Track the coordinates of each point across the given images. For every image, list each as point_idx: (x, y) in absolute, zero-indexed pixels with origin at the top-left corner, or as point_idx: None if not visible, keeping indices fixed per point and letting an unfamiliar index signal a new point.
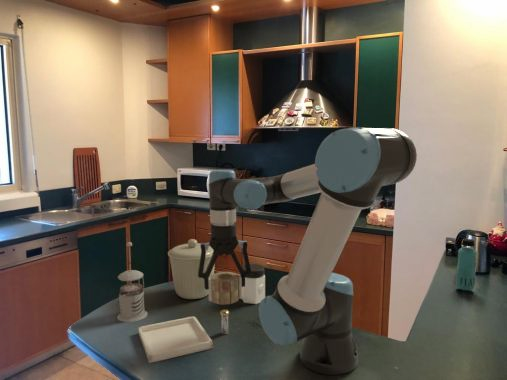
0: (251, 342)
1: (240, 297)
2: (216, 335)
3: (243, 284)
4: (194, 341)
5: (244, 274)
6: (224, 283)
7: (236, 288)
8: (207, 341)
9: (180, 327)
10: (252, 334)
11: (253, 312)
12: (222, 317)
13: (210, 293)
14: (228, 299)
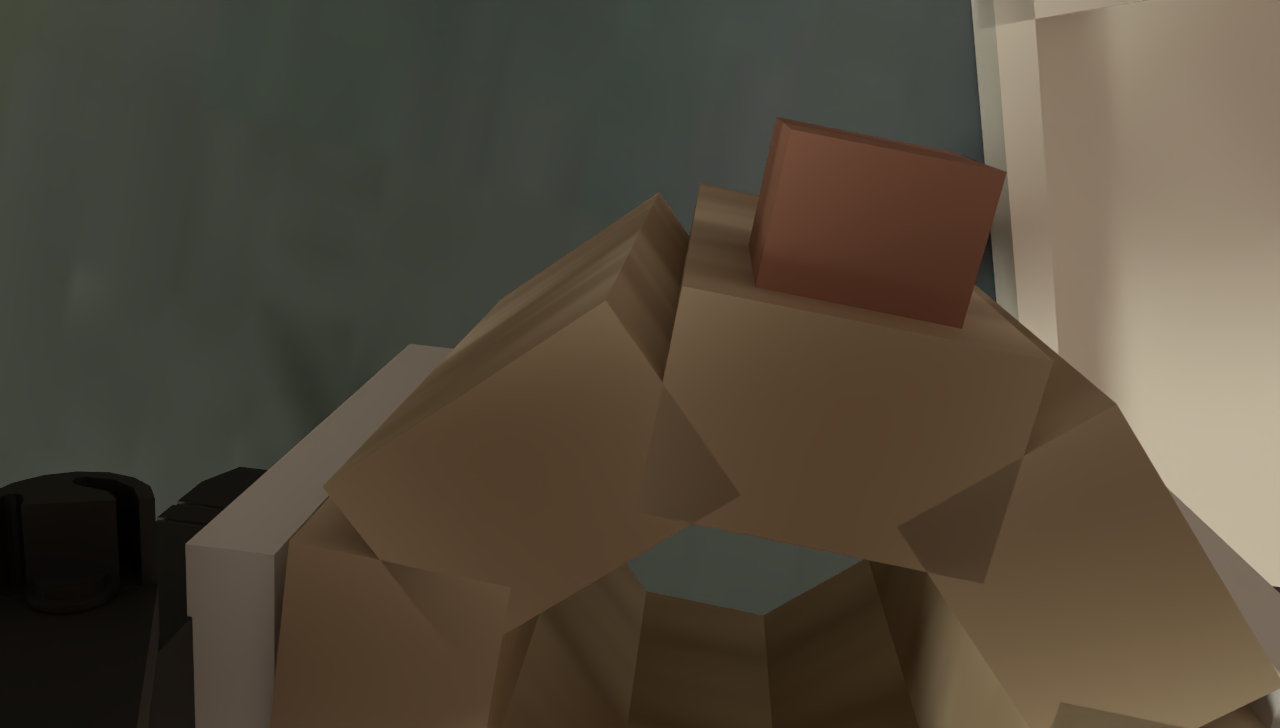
0: (477, 6)
1: (432, 355)
2: None
3: (241, 490)
4: (1171, 179)
5: (18, 593)
6: (892, 220)
7: (472, 342)
8: (1060, 7)
9: None
10: (425, 196)
11: None
12: None
13: None
14: (730, 201)
